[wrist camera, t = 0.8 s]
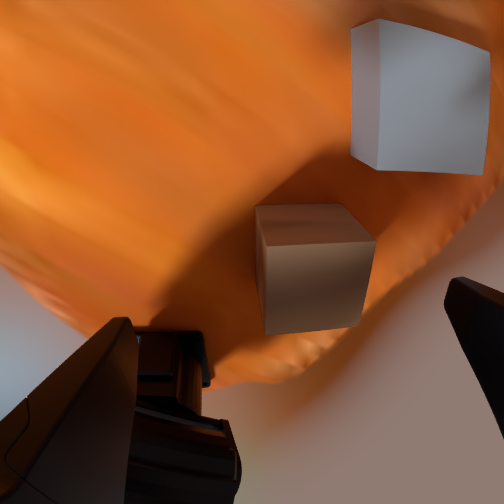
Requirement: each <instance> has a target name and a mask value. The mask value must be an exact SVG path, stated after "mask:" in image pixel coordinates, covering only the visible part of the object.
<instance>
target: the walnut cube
mask: <svg viewBox="0 0 504 504" xmlns="http://www.w3.org/2000/svg"><path fill="white" fill-rule="evenodd" d="M255 246H256V286H257V292H258V297H259V303H260V308H261V314H262V320H263V325H264V331H265V336H266V335H279V334H290V333H301V332H311V331H321V330H330V329H338V328H346V327H354V326H359V323H360V318H361V314H362V310H363V306H364V301H365V297H366V292H367V288H368V283H369V278H370V273H371V268H372V263H373V257H374V252H375V246H376V240H375V239H374V238H373V237H372V236H371V235H370V234H369V232H368V231H367V230H366V229H365V228H364V227H363V226H362V225H361V224H360V223H359V222H358V220H357V219H356V218H355V217H354V216H353V215H352V214H351V213H350V212H349V211H348V210H347V209H346V208H345V207H344V206H343V205H342V204H341V203H321V204H281V205H255Z"/></svg>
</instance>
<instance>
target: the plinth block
mask: <svg viewBox="0 0 504 504" xmlns="http://www.w3.org/2000/svg"><path fill="white" fill-rule="evenodd" d="M350 30H351V58H352V119H351V150H350V155H351V156H353V157H355V158H356V159H358V160H360V161H362V162H363V163H365V164H367V165H368V166H370V167H372V168H374V169H375V170H386V171H418V172H438V173H455V174H469V175H481V176H483V169H484V162H485V155H486V146H487V136H488V125H489V110H490V52H488V51H486V50H483V49H481V48H478V47H476V46H473V45H470V44H468V43H465V42H462V41H459V40H457V39H454V38H451V37H448V36H445V35H441V34H438V33H435V32H432V31H428V30H425V29H421V28H417V27H414V26H410V25H406V24H402V23H397V22H393V21H388V20H384V19H379V18H378V19H375V20H373V21H370V22H367V23H365V24H362V25H359V26H357V27H354V28H352V29H350Z"/></svg>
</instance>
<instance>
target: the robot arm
mask: <svg viewBox="0 0 504 504" xmlns="http://www.w3.org/2000/svg"><path fill="white" fill-rule="evenodd" d="M444 308H445V311H446V313H447V315H448V317H449V319H450V322H451V324H452V326H453V329H454V331H455V333H456V336H457V338H458V340H459V342H460V345H461V347H462V349H463V351H464V353H465V355H466V357H467V359H468V361H469V363H470V365H471V367H472V369H473V371H474V373H475V375H476V377H477V379H478V381H479V383H480V385H481V388H482V390H483V392H484V394H485V396H486V398H487V401H488V403H489V405H490V407H491V409H492V412H493V414H494V417H495V419H496V421H497V424H498V426H499V429H500V431H501V434H502V436H503V439H504V293H502V292H500V291H498V290H495V289H493V288H490V287H488V286H485V285H483V284H481V283H478V282H475V281H473V280H470V279H468V278H465V277H456V278H453V279H451V281H450V283H449V286H448V289H447V293H446V296H445V299H444ZM195 337H199V338H195ZM210 384H211V380H210V374H209V368H208V362H207V355H206V349H205V342H204V335H203V333H202V332H200V331H178V332H135V331H134V328H133V326H132V323H131V320H130V319H129V318H128V317H114V318H112V319H111V320H110V321H109V322H108V323H107V324H105V325H104V326H103V327H102V328H101V329H100V330H99V331H97V332H96V333H95V334H94V335H93V336H92V337H91V338H90V339H89V340H87V341H86V342H85V343H84V344H83V345H82V346H81V347H80V348H79V349H77V350H76V351H75V352H74V353H73V354H72V355H71V356H70V357H69V358H68V359H67V360H65V361H64V362H63V363H62V364H61V365H60V366H59V367H58V368H57V369H56V370H54V371H53V372H52V373H51V374H50V375H49V376H48V377H47V378H46V379H45V380H44V381H43V382H42V383H41V384H39V386H37V387H36V388H35V389H34V390H33V391H32V392H31V393H30V394H29V395H28V396H27V398H25V399H24V400H22V402H20V403H19V404H18V405H17V406H16V407H15V408H14V409H13V410H12V411H11V412H10V413H9V414H8V415H7V416H5V417H4V418H3V419H2V420H1V421H0V504H233V502H234V497H235V495H236V493H237V491H238V488H239V485H240V482H241V474H242V467H241V460H240V456H239V453H238V450H237V447H236V444H235V441H234V437H233V434H232V431H231V428H230V425H229V421H228V420H224V419H220V420H218V419H213V418H209V417H205V416H201V409H202V408H201V406H202V388H206V387H209V386H210Z"/></svg>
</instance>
